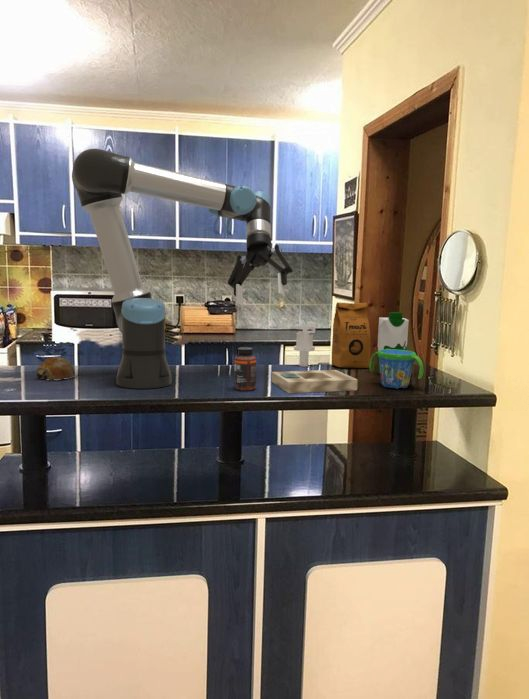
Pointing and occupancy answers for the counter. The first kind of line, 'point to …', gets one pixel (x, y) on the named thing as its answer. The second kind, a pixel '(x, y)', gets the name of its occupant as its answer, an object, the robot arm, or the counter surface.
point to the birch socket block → (314, 381)
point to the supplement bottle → (245, 369)
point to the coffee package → (351, 336)
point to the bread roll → (55, 369)
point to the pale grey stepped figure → (304, 342)
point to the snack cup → (396, 367)
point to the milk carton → (392, 333)
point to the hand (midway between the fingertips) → (260, 300)
